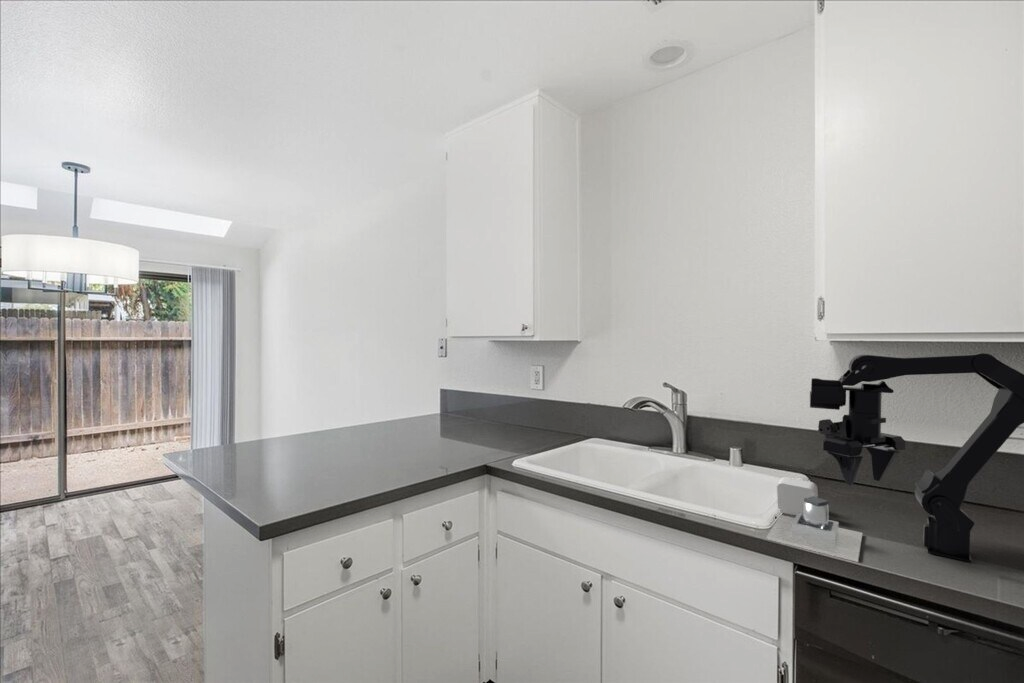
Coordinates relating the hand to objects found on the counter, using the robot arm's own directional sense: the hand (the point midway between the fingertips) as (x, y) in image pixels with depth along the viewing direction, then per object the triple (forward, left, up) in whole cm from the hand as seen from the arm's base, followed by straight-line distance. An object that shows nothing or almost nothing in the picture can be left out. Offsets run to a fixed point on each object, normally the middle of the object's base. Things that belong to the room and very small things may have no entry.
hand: (863, 482), depth 104 cm
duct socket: (+8, +7, -12) cm, 16 cm away
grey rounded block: (+13, -9, -12) cm, 20 cm away
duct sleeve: (+8, +7, -11) cm, 15 cm away
